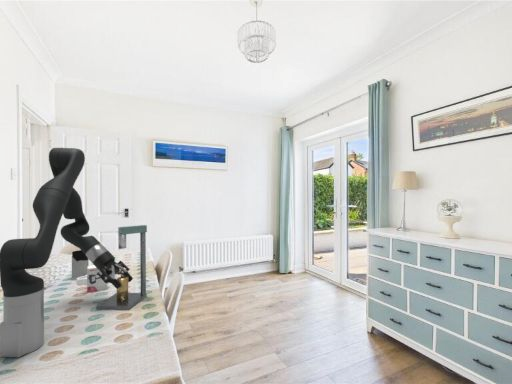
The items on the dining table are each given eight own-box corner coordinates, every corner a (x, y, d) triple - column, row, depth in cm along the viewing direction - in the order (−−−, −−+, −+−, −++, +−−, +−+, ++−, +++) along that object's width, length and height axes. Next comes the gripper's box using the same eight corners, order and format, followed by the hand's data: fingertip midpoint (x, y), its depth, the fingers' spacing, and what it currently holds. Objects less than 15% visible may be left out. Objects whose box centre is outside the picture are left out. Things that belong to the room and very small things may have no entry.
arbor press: (131, 310, 104) (130, 229, 104) (96, 309, 105) (95, 229, 105) (149, 295, 119) (149, 225, 119) (118, 295, 120) (118, 225, 120)
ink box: (87, 293, 123) (87, 268, 123) (87, 290, 127) (87, 266, 127) (107, 289, 128) (107, 265, 128) (107, 286, 132) (107, 263, 132)
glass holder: (69, 277, 147) (69, 251, 147) (98, 272, 156) (98, 247, 156) (71, 281, 140) (71, 253, 140) (101, 275, 149) (101, 249, 150)
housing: (124, 301, 109) (124, 277, 109) (114, 300, 109) (114, 276, 109) (130, 297, 114) (130, 273, 114) (120, 296, 114) (120, 273, 114)
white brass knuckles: (117, 275, 152) (114, 283, 138) (81, 279, 145) (73, 288, 131) (117, 269, 152) (114, 276, 138) (81, 273, 145) (73, 281, 131)
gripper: (94, 254, 105) (121, 283, 104) (116, 247, 119) (140, 272, 118) (82, 267, 106) (109, 296, 105) (105, 258, 120) (129, 284, 119)
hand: (125, 283), depth 111 cm, fingers open, 8 cm apart
